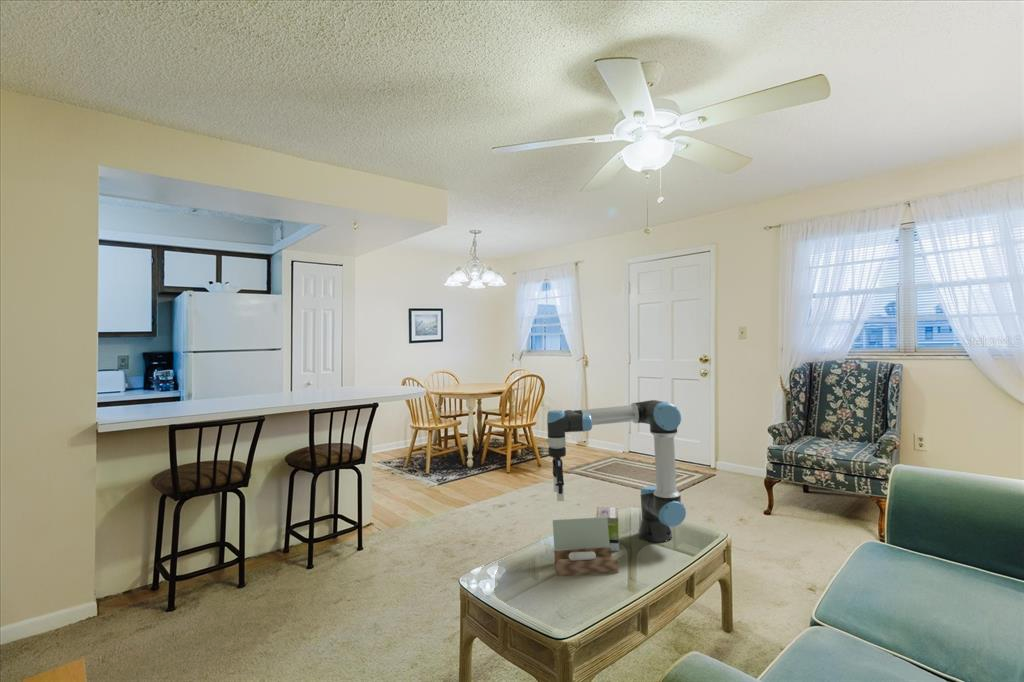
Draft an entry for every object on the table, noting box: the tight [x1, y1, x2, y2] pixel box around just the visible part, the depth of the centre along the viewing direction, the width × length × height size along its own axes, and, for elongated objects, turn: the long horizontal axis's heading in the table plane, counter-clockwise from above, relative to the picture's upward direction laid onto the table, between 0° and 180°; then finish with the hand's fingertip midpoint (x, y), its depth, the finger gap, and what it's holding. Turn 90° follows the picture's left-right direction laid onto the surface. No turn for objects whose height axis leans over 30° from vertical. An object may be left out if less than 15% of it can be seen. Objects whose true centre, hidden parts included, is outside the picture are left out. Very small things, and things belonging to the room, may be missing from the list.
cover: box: [552, 517, 610, 551], centre depth 204 cm, size 24×12×1 cm
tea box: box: [595, 506, 620, 552], centre depth 219 cm, size 15×10×15 cm, turn 168°
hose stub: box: [569, 551, 596, 561], centre depth 192 cm, size 11×3×3 cm, turn 93°
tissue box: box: [553, 547, 619, 577], centre depth 196 cm, size 24×12×5 cm, turn 93°
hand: (558, 496), depth 206 cm, fingers open, 13 cm apart
